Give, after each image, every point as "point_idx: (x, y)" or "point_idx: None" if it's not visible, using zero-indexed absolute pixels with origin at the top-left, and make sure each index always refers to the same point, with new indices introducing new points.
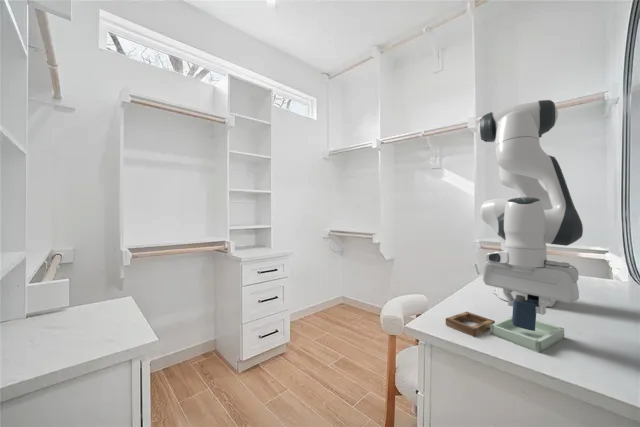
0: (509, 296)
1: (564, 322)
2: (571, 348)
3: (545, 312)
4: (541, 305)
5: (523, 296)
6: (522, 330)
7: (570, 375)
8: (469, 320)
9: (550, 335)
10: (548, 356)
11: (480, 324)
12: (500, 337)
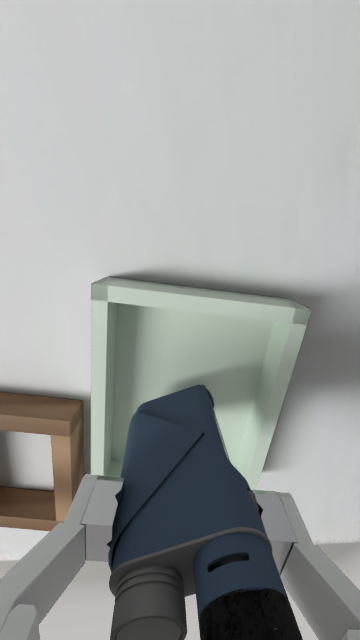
0: (59, 588)
1: (277, 2)
2: (310, 378)
3: (291, 500)
4: (301, 605)
5: (163, 616)
6: (163, 374)
7: (308, 522)
8: None
9: (271, 435)
10: (261, 475)
11: (61, 489)
12: None
